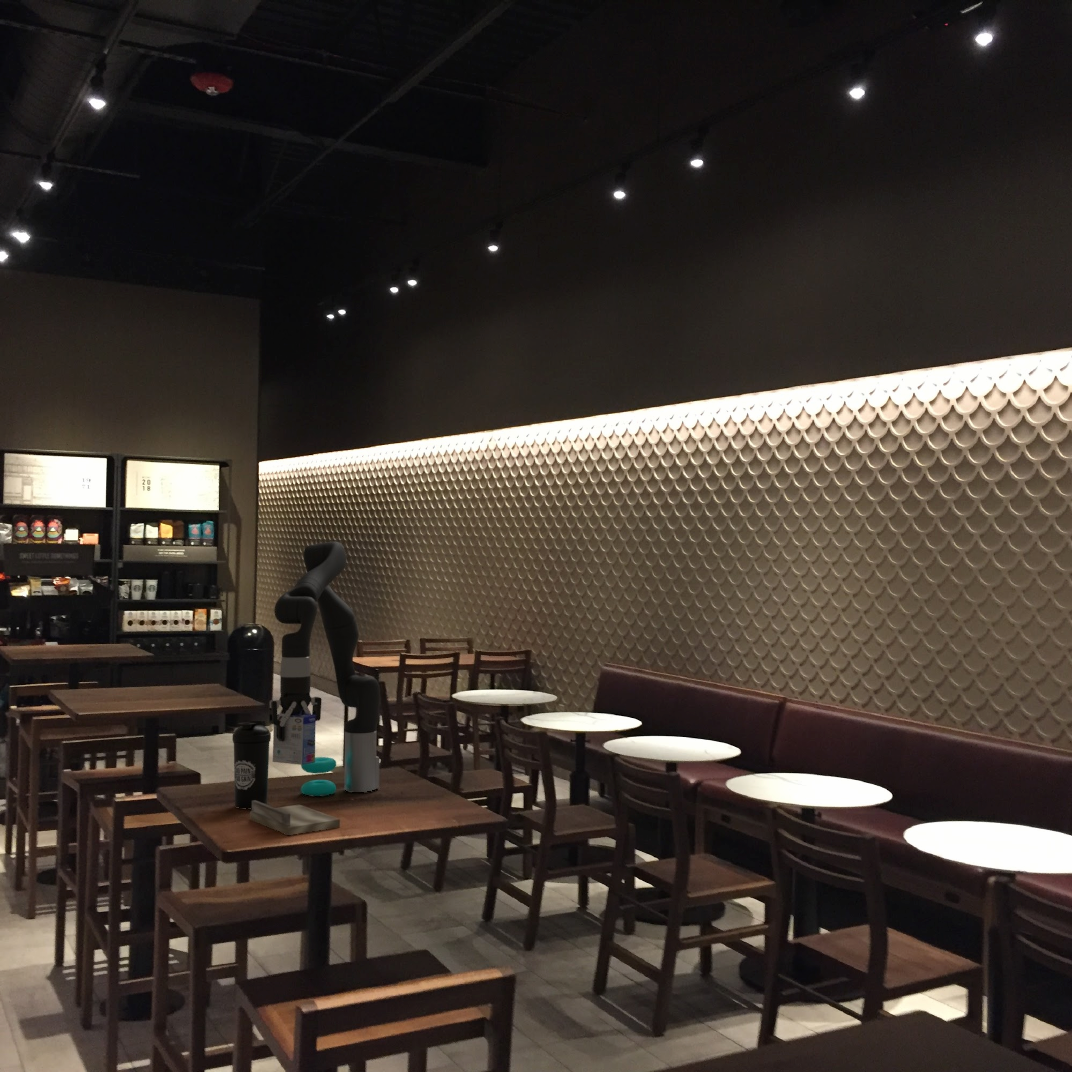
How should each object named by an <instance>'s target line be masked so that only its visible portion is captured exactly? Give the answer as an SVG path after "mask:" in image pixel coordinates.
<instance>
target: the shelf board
mask: <svg viewBox="0 0 1072 1072" xmlns="http://www.w3.org/2000/svg"><path fill="white" fill-rule="evenodd" d="M249 820H250V821H252V822H254V821H255V823H258V824H259V823H260V824H259V825H261V826H264V827H266V826H267V828H268V829H271V830H273V829H274V830H273V831H276V830H277V831H276V832H278V831H280V832H282V833H281V834H283V833H285V834H286V835H285V834H284V835H285V836H287V835H291V836H294V835H293V834H297V833H303V834H307V833H306V832H309V833H313V832H312V831H315V832H320V831H319V830H321V831H325V830H326V829H327V830H332V829H337V828H340V826H341V824H340V823H341V821H340V820H341V819H340V818H337V817H336V816H332V815H329V814H326V813H325V812H322V811H318V810H315V809H313V808H310V807H308V806H304V805H302V804H299V803H298V804H294V805H287V806H281V807H273V806H272V805H268V804H267V805H266V804H264V803H261V802H259V801H256V800H254V801H252V809H251V811H249ZM280 832H279V833H280ZM304 832H305V833H304ZM297 835H298V834H297Z"/></svg>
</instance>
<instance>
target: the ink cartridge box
mask: <svg viewBox="0 0 1072 1072" xmlns="http://www.w3.org/2000/svg"><path fill="white" fill-rule="evenodd" d="M302 711H303V709H302V710H301V712H300V714H295V715H290V717H289V718H288V719H287V720H286V722H285V724H284V727H285V740H284V741H279V740H278V739H277V737H276V725H274V724H273V730H272V731H273V733H272V734H273V735H272V738H273V741H272V762H273V763H280V764H281V763H282V764H289V765H298V766H299V765H300V766H301V765H304V764H308V763H314V762H315V757H316V725H317V724H316V722H317V721H316V715H312V714H311V715H310V714H307V715H306V714H302ZM279 714H280V713H277V717H279Z"/></svg>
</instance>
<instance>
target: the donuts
mask: <svg viewBox="0 0 1072 1072" xmlns="http://www.w3.org/2000/svg"><path fill="white" fill-rule="evenodd" d="M300 767H301V769H302V770H303V771H304V772H306V773H309V774H324V773H325V774H326V773H330V772H332V771H333V770H335V768H336V767H337V761H336V760H335V758H331V757H328V756H327V757H326V756H317V757H316V756H315V762H314V763H308V764H304V765H300ZM336 790H337V786H336V784H335V782H333V781H330V780H327V779H316V780H315V779H313V780H309V781H307V782H305V783H303V784H302V786H301V787H300V793H301V794H302V793H303V794H306V795H313V796H320V795H328V796H330V795H329V794H331V795H333V794H335V792H336ZM303 794H302V795H303ZM306 795H305V796H306Z"/></svg>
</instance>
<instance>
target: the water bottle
mask: <svg viewBox="0 0 1072 1072" xmlns="http://www.w3.org/2000/svg"><path fill="white" fill-rule="evenodd" d="M237 724H238V727H237V728H236V729H235V731H234V732H233V733H232V738H231V739H232V743H233V766H234V767H233V772H234V773H233V776H234V780H233V781H234V807H235V806H236V807H239V808H246V809H245V810H249V809H248V808H251V809H250V810H252V801H254V800H256V801H259V802H261V803H264V804H266V805H268V791H269V790H268V789H269V787H268V785H269V764H270V763H269V762H270V742H271V740H272V733H271V732H270V730H269V728H268V727H267V726H266V721H265V720H260V719H253V720H250V722H239V723H237Z"/></svg>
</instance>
